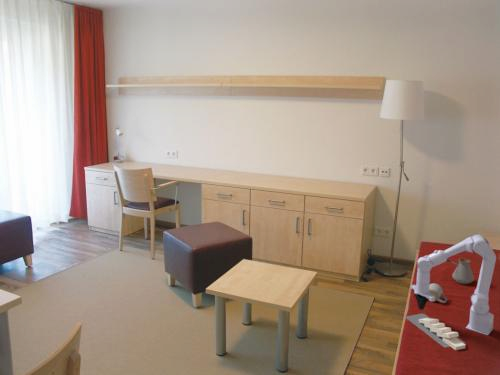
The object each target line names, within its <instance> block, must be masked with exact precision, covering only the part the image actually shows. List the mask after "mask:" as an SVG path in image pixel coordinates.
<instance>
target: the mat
mask: <svg viewBox="0 0 500 375" xmlns="http://www.w3.org/2000/svg"><path fill="white" fill-rule="evenodd" d="M404 318H405V319H406V320H408V321H409V322H410V323H412V325H414V326H416V327H417V328H418V329H419V330H421V331H422V332H423V333H424V334H426V335H427V336H428V337H430V338H431V339H432V340H434V342H436V343H437V344H439V345H440V346H442V347H443V348H444V349H445V348H450V346H449V345H448V344H446V343H445V342H444V341H443V340H442V339H443V337H439V336H437V334H436V332H430V328H427V327H425V326H424V324H423V323H419V320H418V319H423V318H431V317H429V316H428V315H426V313H418V314H411V315H406V316H404ZM455 338H457V339H458V340H460V341H461V342H462V343H464V344H465V345H466V342H465V341H463V340H462V339H461V338H459V336H457V337H455Z"/></svg>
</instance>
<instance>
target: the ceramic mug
mask: <svg viewBox="0 0 500 375" xmlns="http://www.w3.org/2000/svg"><path fill="white" fill-rule="evenodd" d="M429 292H430V293H431V294H432V296H433V297H435V299H434V301H432V302H437V301H438V302H439V303H441V304H445V303H447V301H448V299H447V298H448V297H446V296H445V294H443V292H444V291H443V289H442V287H441V286H440V285H439V283H435V282H434V283H430V284H429ZM441 298H442V299H441ZM443 299H444V300H443Z"/></svg>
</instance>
